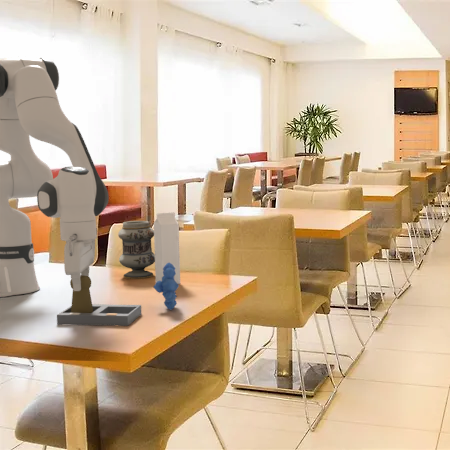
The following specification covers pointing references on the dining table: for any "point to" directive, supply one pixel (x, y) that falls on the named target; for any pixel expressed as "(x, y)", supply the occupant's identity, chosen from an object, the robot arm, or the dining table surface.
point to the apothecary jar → (137, 248)
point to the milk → (166, 244)
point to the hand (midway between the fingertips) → (81, 287)
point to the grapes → (168, 286)
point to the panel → (102, 315)
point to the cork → (82, 297)
